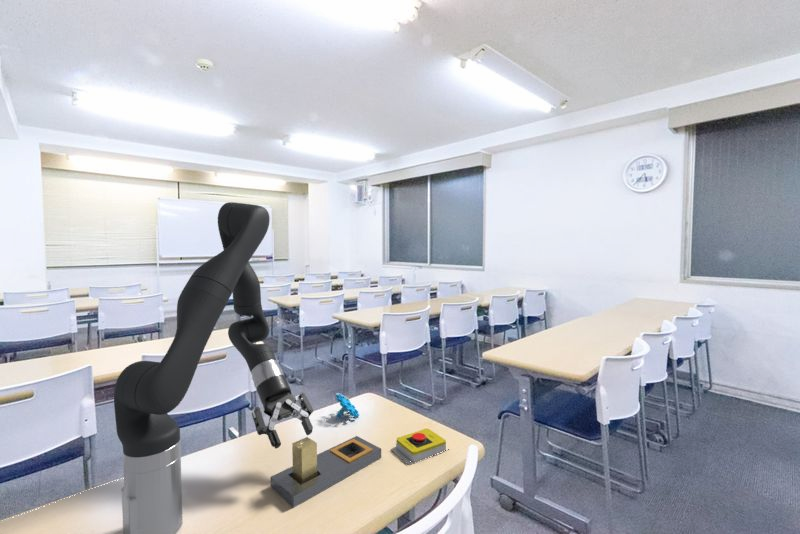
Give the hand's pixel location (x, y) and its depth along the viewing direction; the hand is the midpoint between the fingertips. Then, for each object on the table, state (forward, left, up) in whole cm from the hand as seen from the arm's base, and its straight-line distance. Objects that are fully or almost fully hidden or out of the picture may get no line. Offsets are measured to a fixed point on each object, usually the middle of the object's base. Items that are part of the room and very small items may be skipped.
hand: (294, 439), depth 90 cm
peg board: (+7, -4, -9) cm, 12 cm away
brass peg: (0, -4, -9) cm, 10 cm away
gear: (+30, +17, -9) cm, 35 cm away
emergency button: (+31, -14, -10) cm, 35 cm away
